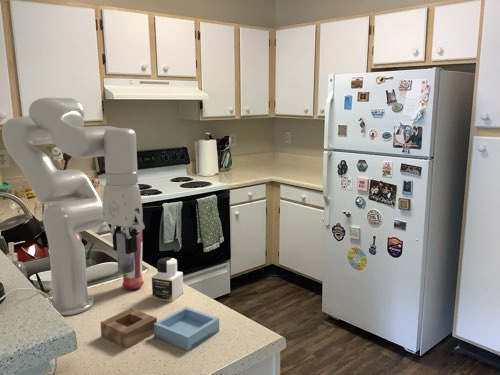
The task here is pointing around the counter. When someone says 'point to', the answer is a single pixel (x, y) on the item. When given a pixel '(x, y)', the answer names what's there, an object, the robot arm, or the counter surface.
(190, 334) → the tray
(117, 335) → the hole block
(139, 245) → the liquor
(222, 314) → the counter surface
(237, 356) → the counter surface
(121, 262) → the peg
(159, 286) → the medicine bottle
